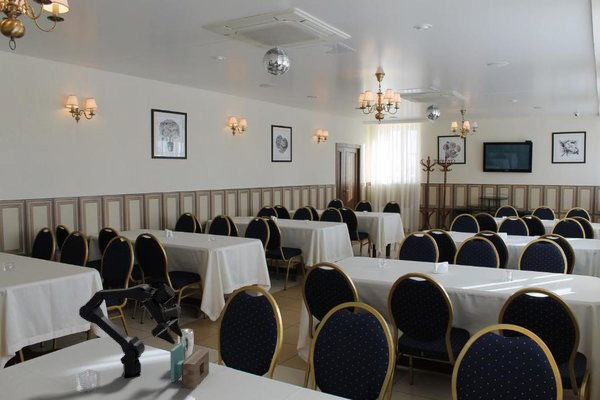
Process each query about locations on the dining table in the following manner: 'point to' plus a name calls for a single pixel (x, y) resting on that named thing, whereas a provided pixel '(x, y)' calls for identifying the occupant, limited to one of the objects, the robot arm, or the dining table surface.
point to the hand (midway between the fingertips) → (178, 340)
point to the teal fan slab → (176, 361)
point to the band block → (195, 368)
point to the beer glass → (186, 342)
